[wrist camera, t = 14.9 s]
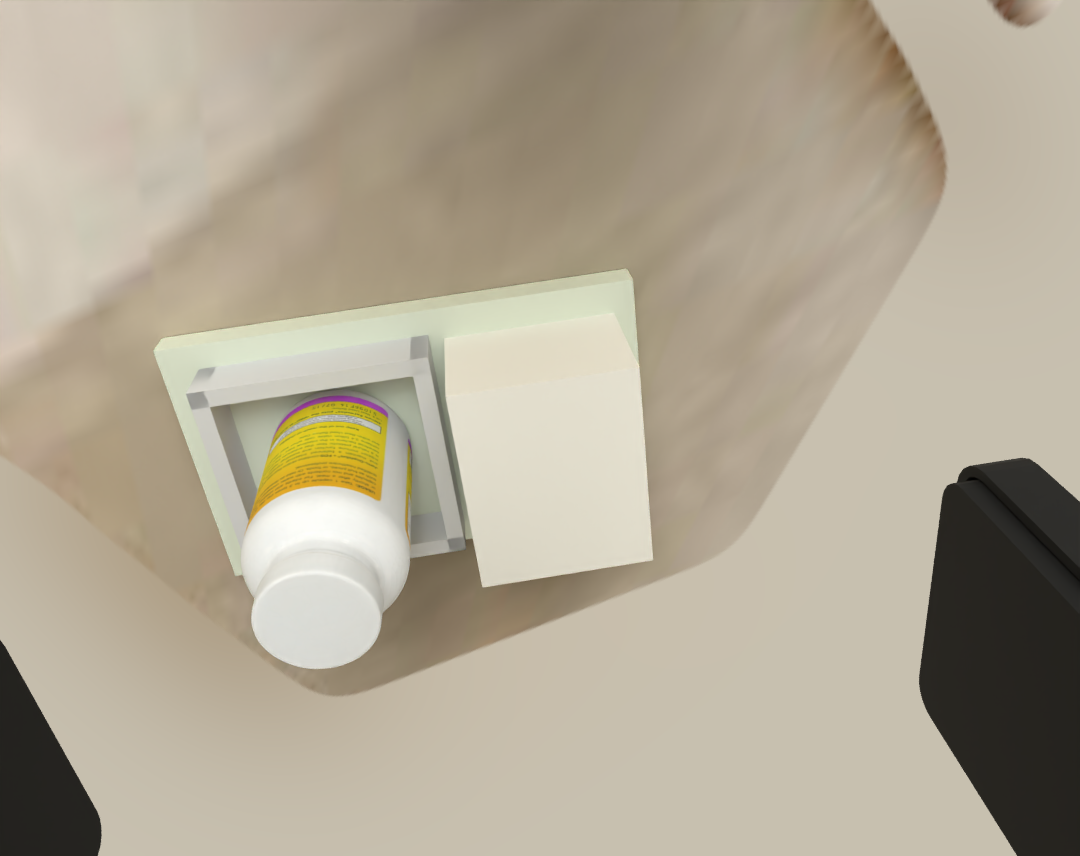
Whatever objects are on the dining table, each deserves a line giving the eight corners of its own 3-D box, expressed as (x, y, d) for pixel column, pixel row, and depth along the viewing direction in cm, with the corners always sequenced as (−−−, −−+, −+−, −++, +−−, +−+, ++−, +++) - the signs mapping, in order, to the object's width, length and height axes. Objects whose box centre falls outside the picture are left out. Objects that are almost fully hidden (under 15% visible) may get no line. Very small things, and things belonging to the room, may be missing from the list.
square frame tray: (626, 268, 42) (661, 329, 36) (643, 494, 49) (675, 582, 42) (161, 338, 42) (111, 413, 35) (240, 558, 48) (210, 656, 42)
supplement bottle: (246, 422, 43) (181, 597, 31) (366, 360, 42) (344, 518, 31) (324, 522, 46) (290, 714, 35) (437, 467, 45) (441, 644, 34)
